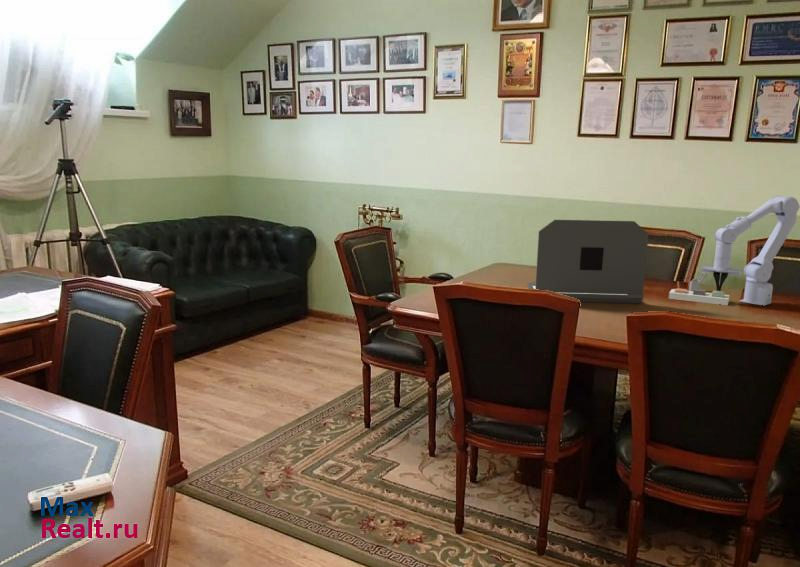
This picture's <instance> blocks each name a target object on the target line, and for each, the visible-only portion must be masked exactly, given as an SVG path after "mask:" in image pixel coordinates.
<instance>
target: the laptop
mask: <svg viewBox="0 0 800 567" xmlns="http://www.w3.org/2000/svg"><path fill="white" fill-rule="evenodd" d="M648 244H649V233H648V232H647V231H646V230H645V229H644V228H643V227H642V226H640V225H639V224H638V223H637V222H636V221H634V220H590V219H587V220H586V219H585V220H584V219H583V220H582V219H553V220H551V222H549V223H547V224H546V225H545V226H544V227H543V228H541V229H539V231H538V237H537V254H536V256H537V257H536V271H535V281H531V282H526V285H527V287H528V288H529V290H530V289H539V290H549V291H553V292H557V293H560V294H563V295H567V296H570V297H574V298H577V299H579V300H580V301H581V302H580V303H602V302H608V303H609V304H610V303H612V304H613V303H614V304H639V303H640V302H642V301H643V300H644V287H645V286H644V285H645V276H646V264H647V253H648Z"/></svg>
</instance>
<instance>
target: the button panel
mask: <svg viewBox="0 0 800 567" xmlns="http://www.w3.org/2000/svg"><path fill="white" fill-rule="evenodd" d="M675 289H676V288H671V290H670V291H669V293H668V299H670V300H676V301H677V300H679V301H687V302H697V303H703V304H713V305H719V304H721V306H728V304H729V301H730V294H724V298H721V297H712V292H705V296H703V295H694V294H693V291H689V290H687V294H685V293H676V292H675Z"/></svg>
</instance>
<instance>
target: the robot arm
mask: <svg viewBox="0 0 800 567" xmlns="http://www.w3.org/2000/svg"><path fill="white" fill-rule="evenodd" d="M799 209H800V204H799V201H798V200H797V198H795V197H793V196H781V195H774V196H773V197H772V198H769V199H767V200H766V201H765V203H763V204H762V205H760V207H758V208H756V209H755V210H754V211H752V212H751V213H749V215H747V216H738V217H736V218H735V220H734V221H732V222H731V223H729V224H726V225H725V227H721V228H718V229H717V230H716V232H715V233H714V235H713V236H714V240H716V242H715V244H716V245H715V254H714V262H713V266H703V265H702V266H701V270H700V272H701V273H712V275H713V278H714V281H715V285H716V291H722V286H723V284H724V282H725V280H726V279H727V278H728V277H729V275H736V276H741V275H742V269H737V268H736V269H735V268H730V266H731V258H732V250H733V243H734V242H736V241H737V238H738V237H739V236H741V235H742V234H743V233H745V232H747V231H748V230H750V229H751V228H752V226H753V225H752V224H754V223H755V222H757V221H759V220H761V219H763V218H764V217H765V216H768V215H770V214H774V215H775V217H776V218H777V223H776V225H775V226H774V229H773V230H772V232H771V233H770V235H769V237H768V239H767V240H766V242H765V243H764V245H763V247H762V249H761V251H759V254H758V255H757V256H755V257H754V258H752V259H751V261H750V262H749V263H748V264H746V265H745V266H744V268H743V274H744V276H745V285H744V286H745V287H744V294H743V299H740V300H739V302H741V303H745V304H747V303H748V304H751V305H752V304H753V305H758V306H762V305H763V306H766V305H770V304H772V297H773V296H772V295H773V290H774V286H773V284H772V283H769V282H768V281H769V280H770V279H771V277H772V272H773V270H774V265H773V261H774V259H775V258H776V256H777V255H778V253H779V251H780V249H781V247H782V246H783V244H784V243H785V241H786V239H787V238H788V235H789V234H790V232H791V231H792V230H793V228H794V226H795V224H796V222H797V214H798V211H799ZM763 306H762V307H763Z"/></svg>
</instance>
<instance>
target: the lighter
mask: <svg viewBox="0 0 800 567" xmlns="http://www.w3.org/2000/svg"><path fill="white" fill-rule="evenodd" d="M699 276H700V277H699V278H692V280H690V281H689V283H688V284H689V286H688V291H694V289H701V287H700V286H701V283H703V282H704V281H705V279H706V278H707V276H708V273H706V272H701V274H700V275H699Z"/></svg>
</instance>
